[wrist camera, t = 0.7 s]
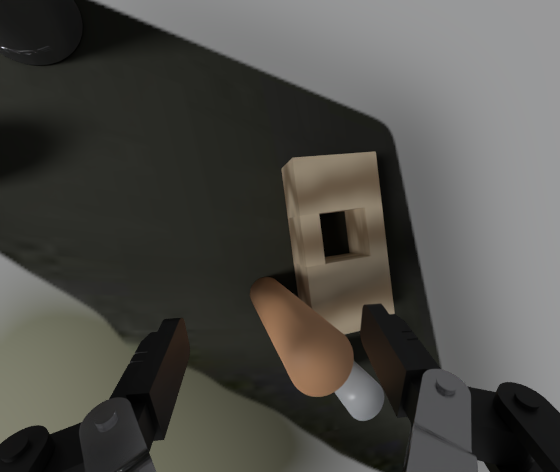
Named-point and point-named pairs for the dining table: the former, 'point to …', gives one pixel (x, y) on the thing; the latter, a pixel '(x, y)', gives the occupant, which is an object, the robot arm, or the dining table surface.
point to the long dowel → (303, 339)
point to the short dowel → (361, 394)
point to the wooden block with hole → (360, 230)
